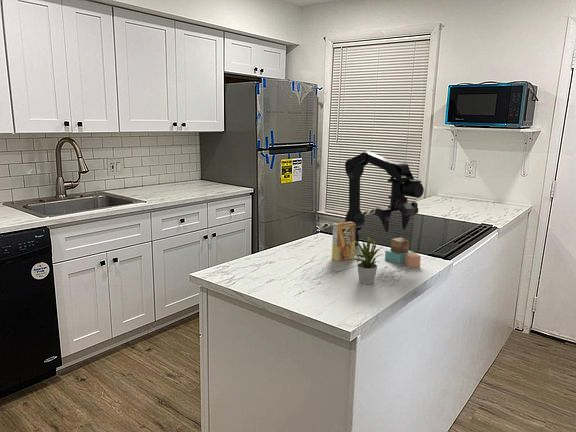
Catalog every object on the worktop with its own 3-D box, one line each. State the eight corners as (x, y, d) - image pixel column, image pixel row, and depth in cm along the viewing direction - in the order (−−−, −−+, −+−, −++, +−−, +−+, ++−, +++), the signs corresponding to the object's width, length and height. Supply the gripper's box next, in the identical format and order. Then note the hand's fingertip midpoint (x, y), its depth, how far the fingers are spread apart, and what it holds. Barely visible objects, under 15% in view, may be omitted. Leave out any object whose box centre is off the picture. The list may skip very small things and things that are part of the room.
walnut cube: (398, 253, 180) (399, 241, 178) (390, 250, 184) (391, 238, 183) (408, 252, 182) (409, 240, 181) (400, 248, 186) (400, 237, 185)
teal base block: (399, 264, 178) (400, 255, 177) (384, 259, 185) (385, 250, 184) (412, 261, 183) (413, 251, 182) (398, 256, 189) (398, 247, 188)
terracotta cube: (408, 267, 174) (409, 256, 173) (404, 263, 179) (405, 253, 178) (419, 267, 175) (420, 256, 174) (415, 263, 179) (416, 252, 178)
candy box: (349, 255, 189) (350, 220, 185) (354, 258, 185) (356, 223, 182) (331, 258, 185) (332, 223, 181) (337, 261, 181) (337, 225, 178)
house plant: (345, 272, 168) (346, 231, 164) (382, 274, 166) (384, 232, 163) (346, 287, 154) (347, 242, 150) (386, 288, 153) (388, 243, 149)
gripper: (392, 199, 170) (390, 238, 174) (429, 195, 178) (426, 233, 182) (375, 194, 180) (372, 231, 183) (410, 191, 188) (407, 226, 191)
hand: (395, 230), depth 185 cm, fingers open, 9 cm apart
